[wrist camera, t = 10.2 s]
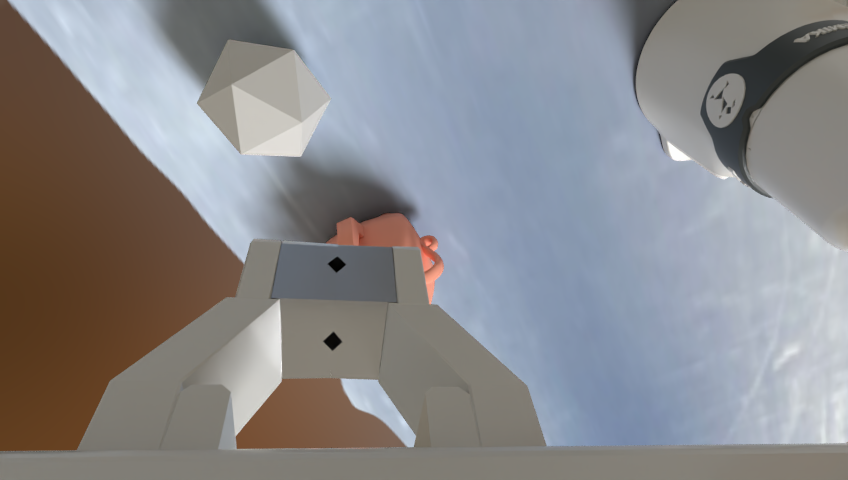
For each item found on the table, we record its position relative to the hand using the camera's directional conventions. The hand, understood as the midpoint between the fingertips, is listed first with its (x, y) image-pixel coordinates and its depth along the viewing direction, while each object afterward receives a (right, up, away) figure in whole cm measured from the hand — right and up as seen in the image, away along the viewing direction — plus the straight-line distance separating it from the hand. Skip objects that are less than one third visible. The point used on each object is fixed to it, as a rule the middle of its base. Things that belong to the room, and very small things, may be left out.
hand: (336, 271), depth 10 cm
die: (-11, +14, +35) cm, 39 cm away
